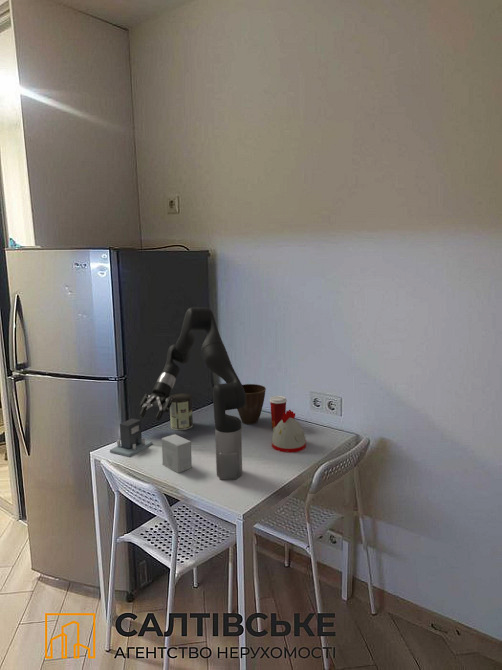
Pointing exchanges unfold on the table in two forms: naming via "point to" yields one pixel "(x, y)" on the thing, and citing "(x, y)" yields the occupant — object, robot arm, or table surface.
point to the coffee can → (181, 411)
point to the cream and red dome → (288, 434)
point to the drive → (130, 433)
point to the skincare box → (176, 453)
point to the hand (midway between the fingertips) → (149, 418)
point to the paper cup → (277, 409)
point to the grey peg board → (135, 449)
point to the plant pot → (252, 403)
